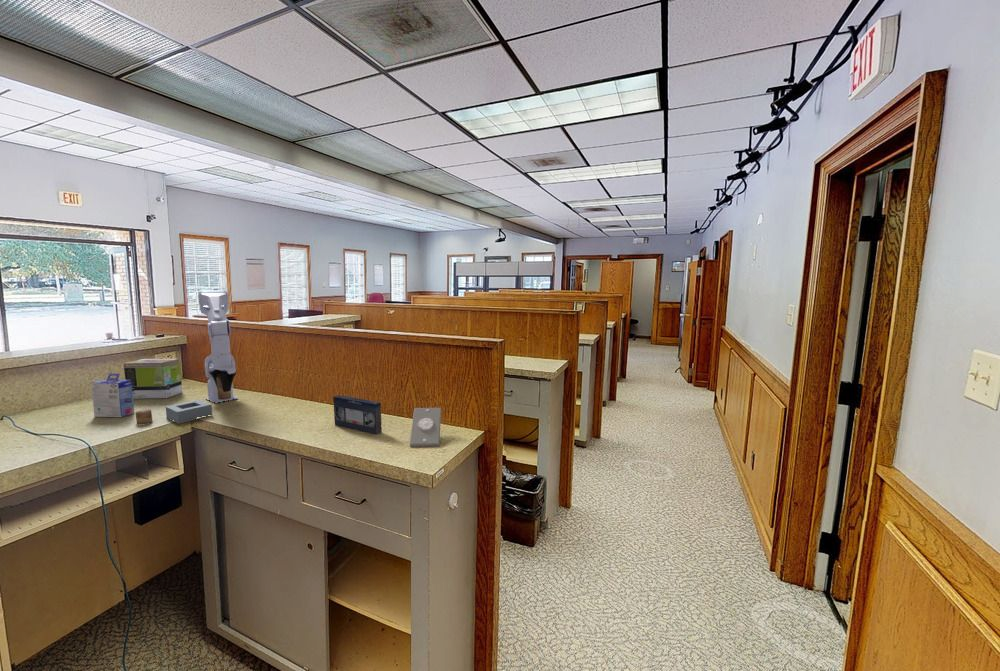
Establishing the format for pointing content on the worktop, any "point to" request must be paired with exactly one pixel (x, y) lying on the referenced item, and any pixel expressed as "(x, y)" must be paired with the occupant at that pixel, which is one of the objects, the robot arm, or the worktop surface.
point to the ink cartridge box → (112, 397)
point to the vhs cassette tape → (357, 414)
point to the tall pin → (221, 393)
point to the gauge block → (188, 411)
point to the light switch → (425, 427)
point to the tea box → (154, 377)
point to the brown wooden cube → (144, 416)
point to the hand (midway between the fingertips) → (224, 390)
